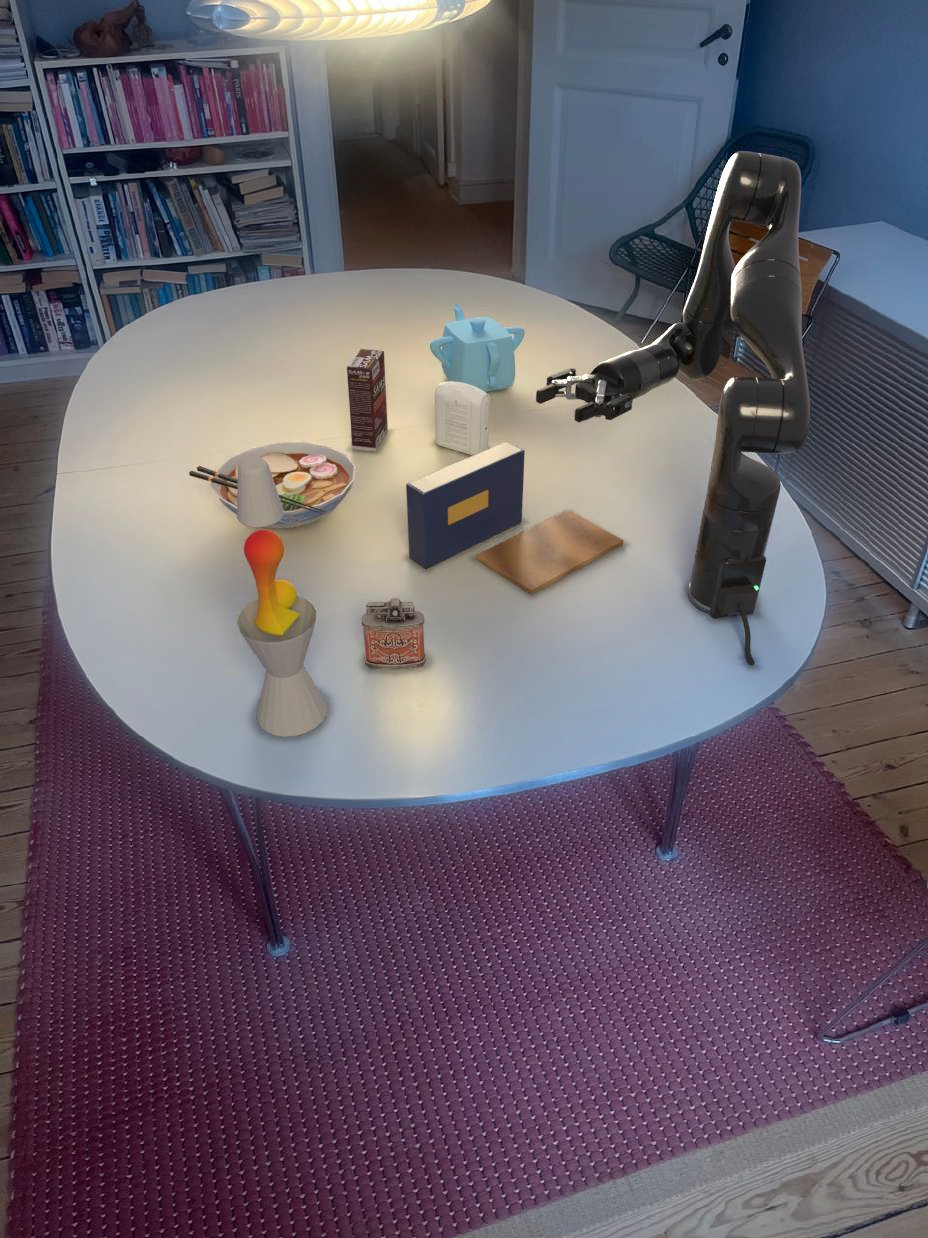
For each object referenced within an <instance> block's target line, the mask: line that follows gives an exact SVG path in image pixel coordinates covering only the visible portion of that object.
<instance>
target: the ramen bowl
mask: <svg viewBox="0 0 928 1238" xmlns="http://www.w3.org/2000/svg"><path fill="white" fill-rule="evenodd" d="M255 457H256V458H261V459H264V460H265V461H266V462H267V463H268V465H269V468H270V471H271V474H272V477H273V480H274V483H275V486H276V489H277V492H278V495H279V498H280V501H281V504H282V507H283V510H284V516H283V517H282V518H281V519H280V520H279V521H278V522H276V523H274V524H272V525H269V526H265V527H267V528H272V529H291V528H292V529H293V528H294V529H295V528H297V527H301V526H302V527H303V526H305V525H309V524H312V523H314V522H316V521H318V520H320V519H322V518H324V517H326V516H328V515H330V514H331V513H332V512H333V511H334V510H335V509H336V508H337V507H338V506H339V505H340V504H341V502H342V501H343V500H344V499H345V498H346V496H347V494H348V493H349V492H350V490H351V489H352V486H353V484H354V482H355V479H356V477H355V475H356V466H357V465H356V464H354V462H353V461H352V460H351V459H350V457H349V456H348V455H347V453H344V452H343V451H341V450H338V449H336V448H334V447H332V446H330V445H328V444H321V443H314V442H310V441H309V442H308V441H277V442H272V443H267V444H264V445H258V446H252V447H250V448H248V449H245V450H243V451H241V452H239V453H235V454H234V455H232V456H229V457H228V458H227V459H225V461H224V462H222V463H221V464H220V465H219V466H217V468H216V469H215V470H212V469H209V468H207V467H204V466H202V465H198V466H196V471H195V470H190V471H189V472H188V474H189V476H190V477H193V478H197V479H200V480H203V481H206V482H210V486H211V488H212V489H213V491H214V493H215V495H216V496H217V498H218V500H219V501H220V502H221V503H222V505H223V506H225V507H226V508H227V509H228V510H229V511H230V512H231V513H233V514H234V515H236V516H237V489H238V465H239V464H240V462H242V461H243V460H245V459H248V458H255Z"/></svg>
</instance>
